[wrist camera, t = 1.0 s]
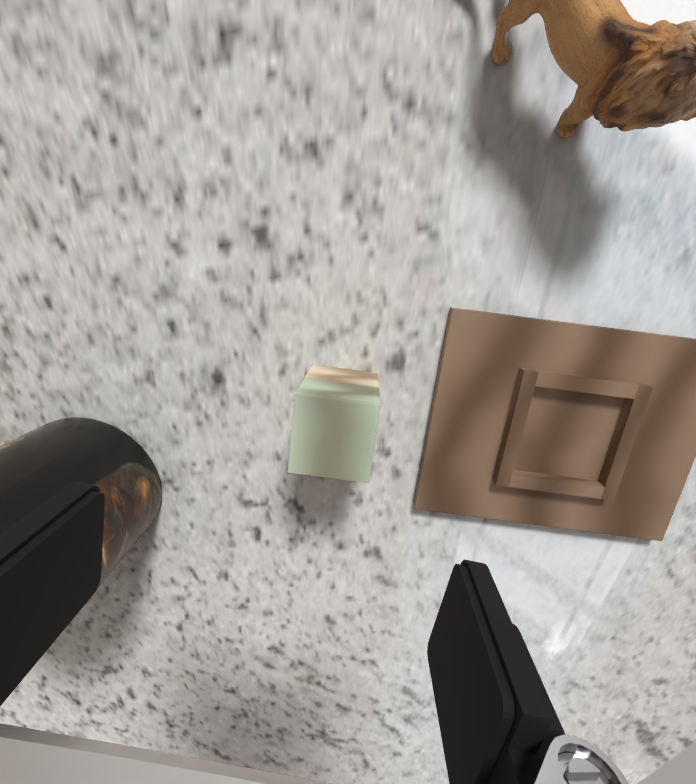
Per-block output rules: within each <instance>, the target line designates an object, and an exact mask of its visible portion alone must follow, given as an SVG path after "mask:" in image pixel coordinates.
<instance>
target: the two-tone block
mask: <svg viewBox="0 0 696 784" xmlns="http://www.w3.org/2000/svg"><path fill="white" fill-rule="evenodd" d="M380 407H381V404H380V394H379V384H378V373H374V372H366V371H358V370H350V369H343V368H335V367H327V366H319V365H312V366H311V368H310V369H309V371H308V373H307V375H306V376H305V378H304V380H303V381H302V383H301V385H300V386H299V388H298V390H297V392H296V393H295V396H294V408H293V419H292V430H291V441H290V453H289V464H288V473H295V474H303V475H311V476H318V477H326V478H333V479H341V480H349V481H356V482H364V483H369V479H370V473H371V466H372V460H373V453H374V447H375V440H376V433H377V427H378V420H379V414H380Z"/></svg>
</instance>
